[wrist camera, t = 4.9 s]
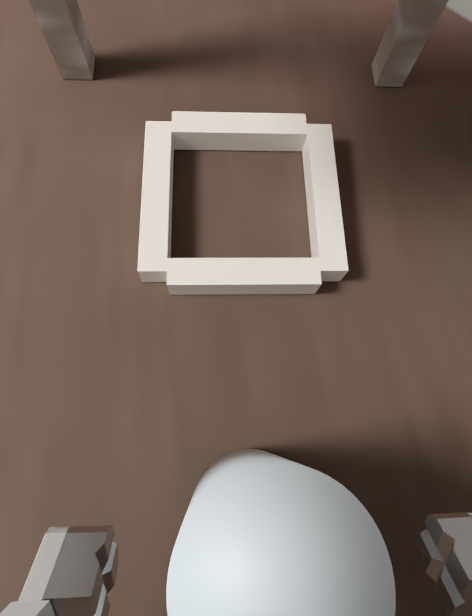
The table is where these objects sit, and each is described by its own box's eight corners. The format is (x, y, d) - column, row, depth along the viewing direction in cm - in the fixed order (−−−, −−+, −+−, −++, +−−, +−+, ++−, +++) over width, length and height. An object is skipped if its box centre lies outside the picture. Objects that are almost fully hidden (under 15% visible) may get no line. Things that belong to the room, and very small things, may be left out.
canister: (189, 581, 14) (162, 741, 7) (191, 450, 15) (169, 465, 8) (312, 576, 14) (413, 724, 7) (303, 447, 16) (379, 459, 8)
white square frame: (141, 294, 17) (136, 285, 16) (150, 129, 20) (146, 110, 19) (341, 293, 18) (350, 284, 16) (323, 132, 20) (329, 114, 19)
